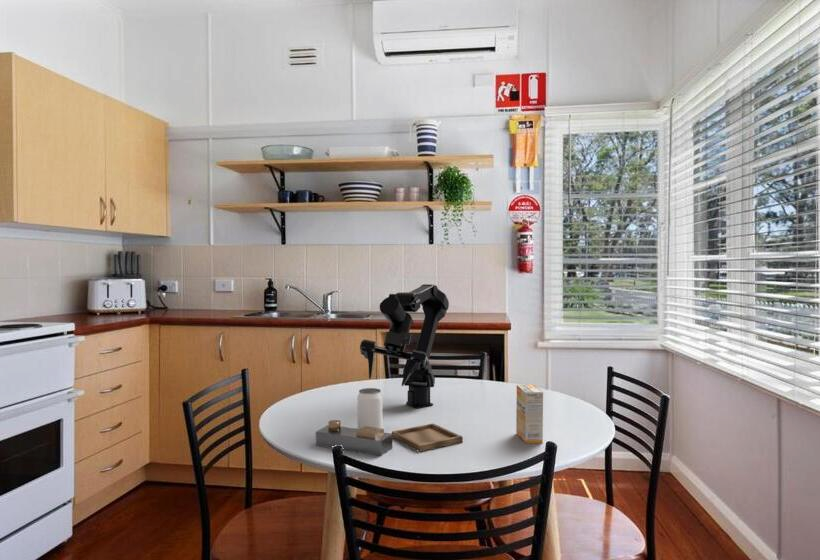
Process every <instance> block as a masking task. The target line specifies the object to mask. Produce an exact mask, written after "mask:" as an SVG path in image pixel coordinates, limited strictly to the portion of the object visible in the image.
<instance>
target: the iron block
mask: <svg viewBox="0 0 820 560" xmlns="http://www.w3.org/2000/svg"><path fill="white" fill-rule="evenodd" d="M341 425H342V423H341V420H339V419H332V420H329V421H328V424H327V425H326V426H323V427H322V428H320V429H317V430H316V431H315V446H317V447H322V448H329V449H333V448H332V446H335V445H342V446H343V448H344V450H343V451H347V452H348V451H349V452H353V451H355V452H354V453H359V452H361V453H360V454H367V455H371V454H372V456H379V457H382V456H384V455H385V454H386V453H388V452H389V451H390V450H392V449H393V438H392V432H391V433H390V432H385V431H384V428H383V427H382V428H375V427H367V426H365V427H363V428H361V429H357V427H356V428H355V427H347V426H341ZM387 451H388V452H387ZM384 453H385V454H384ZM383 454H384V455H383Z"/></svg>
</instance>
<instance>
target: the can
mask: <svg viewBox="0 0 820 560" xmlns="http://www.w3.org/2000/svg"><path fill="white" fill-rule="evenodd" d="M381 391H382V390H381V389H380V388H376V387H375V388H374V387H366V388H365V387H364V388H361V389H359V390H358V395H357V399H356V400H357V405H356V408H357V410H356V412H357V415H356V417H357V419H356V420H357V422H356V423H357V427H356V429H361V428H363V427H365V426H367V427H375V428H382V429H383V395H382V392H381Z"/></svg>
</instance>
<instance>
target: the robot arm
mask: <svg viewBox="0 0 820 560" xmlns="http://www.w3.org/2000/svg"><path fill="white" fill-rule="evenodd" d="M421 307H422V311H423V314H424V319H423V322H422V326H421V329H420V332H419V333H420V334H419V337H418V340H417V343H416V348H415V349H413V350H412V353H409V352H405V349H406V346H407V345H408V346H410V344H411V338H412V332H410V330H411V326H412V325H414V319H413V317H412V315H411V314H409V313H417V312H418V310H419V309H420V308H421ZM449 307H450V303H449V299H448V296H447V294H446V293H445V292H443V291H442V290H440V289H439V288H438V286H437V285H436V284H430V283H429V284H427V283H426V284H422V285H420V286H418V287H417V288H415V289H413V290H410V291H408V292H405V291H404V292H396V293H390V294H388V297H385V298H384V299H383V300H381V302H380V303H379V308H378V309H379V311H380V312H381V314H382V315H383V316H384V318H385V319H386V321H387V322H388V323H389V324H390V325H389V326H390V327H389V330H388V331H386V333H385V338H384V342H383V346H384V347H381V346H378V345H377V343H376V341H374V340H371V339H370V340H368V339H365V338H364V339H363V340H361V342H360V345H359V352H360V354H361V355H362V356H363V357H364V359H367V362H368V379H369V380H371V379H372V376H373V373H374V366H375V360H376V357H375V355H376V354H378V355H382V356H388V357H393V358H397V359H400V360H401V359H402V360H406V362H405V363H404V367H403V370H402V377H403V378H402V381H401V387H403V386H405V387H406V386H408V390H407V401H406V402H405V404H406V405H408V406H411V407H413V408H415V409H419V408H425V407H431V406H432V407H433V406H434V403H433V402H431V388H434V387H435V384H436V381H435V380H436V378H435V376H434V374H433V373H434V372H433V371H432V364H431V363H430V362H431V361H430V355H431V352H432V348H433V343H434V340H435V336H436V332H437V328H438V325H439V322H440V321H441V320H443V318H445V316H446V314H447V311H448V310H449Z"/></svg>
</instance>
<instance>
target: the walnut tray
mask: <svg viewBox="0 0 820 560" xmlns="http://www.w3.org/2000/svg"><path fill="white" fill-rule="evenodd" d="M391 434H392V439H395V440H397V441H398V442H400V443H402V444H403V443H404V445H405V444H406V445H405V446H407V445H408V446H407V447H409V448H411V447H412V448H411V449H413V448H414V449H413V450H415V449H416V450H418V451H419V452H418V451H417V452H418V453H421V452H420V451H422V452H425V451H424V450H427V451H429V450H428V449H431V450H434V449H433V448H436V449H439V448H438V447H440V448H443V447H442V446H445V447H448V445H449V446H454V445H457V444H462V443H463V442H464V441H463V440H464V439H463V435H460V434H458V433H455V432H454V431H451V430H449V429H446V428H444V427H442V426H440V425H438V424H436V423H428V424H423V425H418V426H412V427H408V428H402V429H398V430H397V429H396V430H392V431H391ZM416 450H415V451H416Z"/></svg>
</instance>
